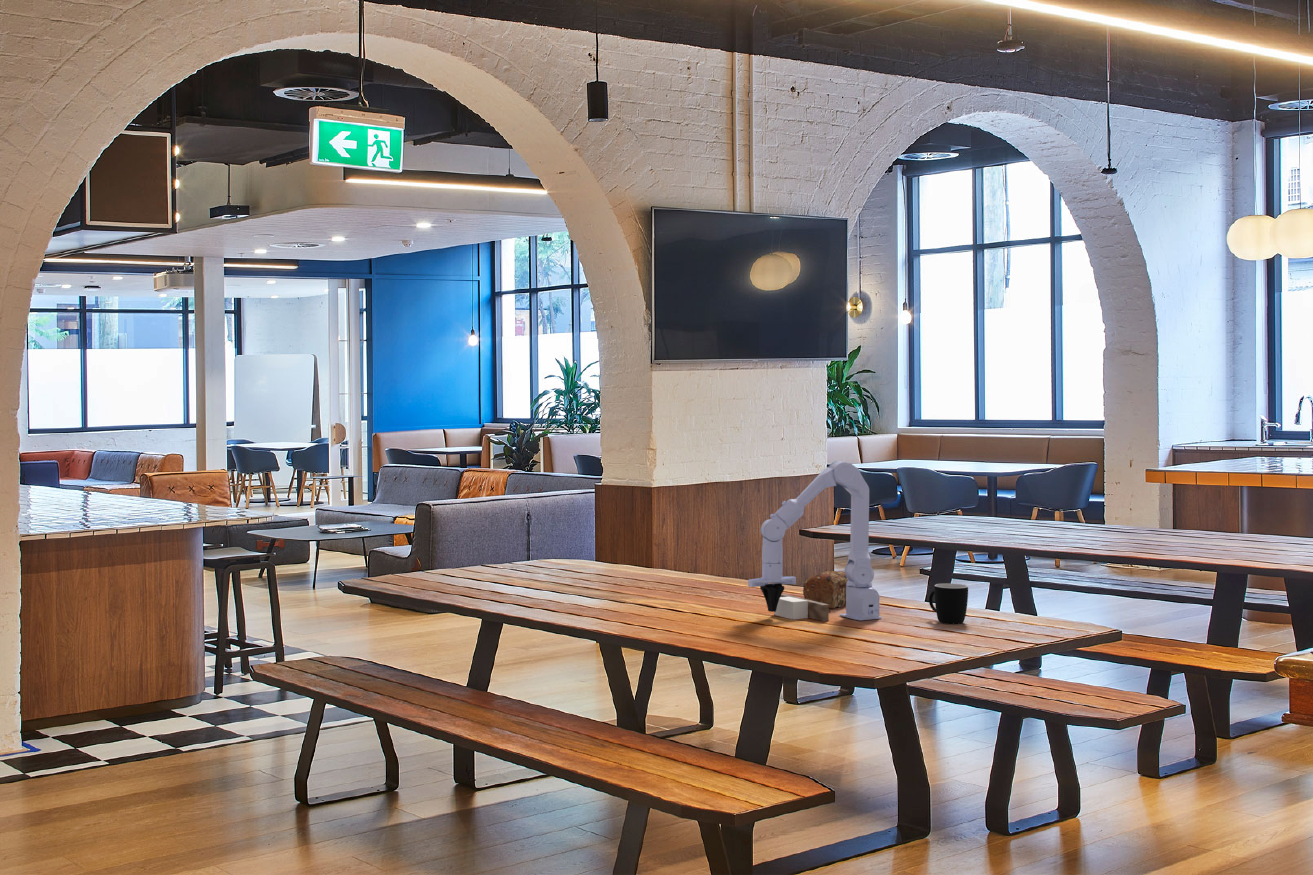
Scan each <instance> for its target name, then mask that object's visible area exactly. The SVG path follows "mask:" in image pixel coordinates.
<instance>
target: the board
mask: <svg viewBox="0 0 1313 875" xmlns="http://www.w3.org/2000/svg"><path fill="white" fill-rule="evenodd" d="M780 597H793V598H798V599H802V600H807V601H808V618H809V619H812V620H816V621H820V622H829V620H830V619H829V618H830V617H829V616H830V615H829V613H830V612H829V610H830V609H829V604H824V603H820V602H816V601H812V600H808V599H804V598H803V597H799V596H795V595H791V594H787V593H782V594H781V596H780ZM808 618H807V619H808Z"/></svg>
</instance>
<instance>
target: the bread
mask: <svg viewBox="0 0 1313 875" xmlns="http://www.w3.org/2000/svg"><path fill="white" fill-rule="evenodd" d="M847 582H848V578H847V577H846V575H845V571H844V570H843V571H842V570H839V571H836V570H825V571H824V572H823V571H821V572H820V573H817V574H812V575H811V576H810V577H808V578H807V579H806V580H805V582H804V583H803V589H802V591H803V592H802V595H803V597H804V599H808V600H812V601H816V602H820V603H824V604H829V610H832V609H836V608H840V607H844V605H845V606H846V583H847Z"/></svg>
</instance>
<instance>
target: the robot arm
mask: <svg viewBox="0 0 1313 875" xmlns="http://www.w3.org/2000/svg"><path fill="white" fill-rule="evenodd" d="M861 473H862V472H861V471H860V469H859V468H858V467H856V466H855V465H854V464H852V463H851V462H847V461H842V460H835V461H833V462H831V463H830V464H829V466H827V467H826V468H824V469H823V470H822V471H821V472H820V473H819V474H818V475H817V476H816V477H815V478H814V479H813V480H812V481H811V482H810V483H809V485H807V487H806V488H805V489H804V490H803V491H801V493H800V494H799V495H798V496H797V497H796V498H794V499H793V498H790V499H788V500H787V501H786V500H783V502H781V505H782V506H781V507H780V508H779V509H777V510H776V511H775V512H774V513H771V514H770V515H769V517H770V519H766V520H764V522H763V523H762V524H761V527H760V528H759V529H760V530H759V532H760V534H761V536H762V546H761V577H758V578H752V579H751V578H750V579H748V580H747V582H748V583H747V586H748V587H750V588H755V587H759V588H760V591H761V593H762V594H763V597H764V600H765V603H766V606H767V611H768V612H770V613H771V612H772V613H774V612H776V609H777V605H778V602H779V599H780V596H781V594H784V593H783V592H784V591H785V585H797V577H796V576H793V575H791V576H784V575H783V570H784V568H783V562H784V560H783V558H784V557H783V556H784V555H783V554H784V553H783V552H784V550H783V549H784V546H783V538H784V537H785V534H786V530H789V529H790V528H791V527H792V526H793V525H794V524H795V523H797V521H798V520H799V519H800V518H801V517H802V516H803V515H804V513H805V512H804V510H805V507H806V506H807V505H808V504H809V503H811V501H813V500H814V499H815V498H816V497H817V496H819V494H820V493H821V492H822V491H823V490H825V489H827V488H831V487H837V485H839V486H841V487H843V489H845V490H846V491H847V492H848V493H849V494H850V537H849V538H850V541H849V542H850V546H849V547H850V549H849V553H848V556H847V557H848V558H847V562H846V565H845V567H844V572H845V575H846V577H847V578H848V582H847V583H846V605H845V613H839V616H840V617H842V618H848V619H851V620H854V621H855V620H856V621H868V620H870V621H871V620H879V619H883V616H880V594H879V591H878V590H876V589H874V588H873V583H872V582H873V580H874V576H875V572H874V569H873V567H872V559H871V556H870V553H869V540H870V539H869V536H870V535H869V534H870V532H869V529H870V487H869V485H868V483H867V482H866V481H865V478H864V477H863V475H862V474H861Z"/></svg>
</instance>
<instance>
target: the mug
mask: <svg viewBox="0 0 1313 875" xmlns="http://www.w3.org/2000/svg"><path fill="white" fill-rule="evenodd" d="M933 597H934V603H933ZM968 599H969V586H968V585H966V584H961V583H936V584H934V590H933V591H931V593H930V594H929V599H928V604H929V607H930V608H931V610H932V611H933V612H934V613H936V618H937V621H938V622H939V623H940V624H943V625H961V624H963V623H964V621H965V619H966V616H967V608H968Z"/></svg>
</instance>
